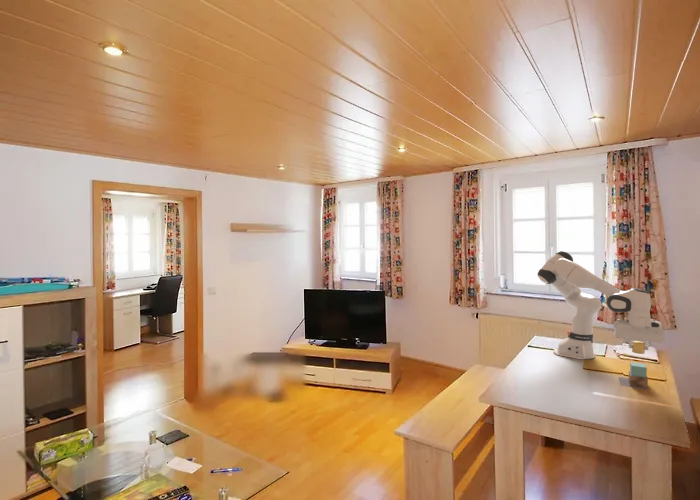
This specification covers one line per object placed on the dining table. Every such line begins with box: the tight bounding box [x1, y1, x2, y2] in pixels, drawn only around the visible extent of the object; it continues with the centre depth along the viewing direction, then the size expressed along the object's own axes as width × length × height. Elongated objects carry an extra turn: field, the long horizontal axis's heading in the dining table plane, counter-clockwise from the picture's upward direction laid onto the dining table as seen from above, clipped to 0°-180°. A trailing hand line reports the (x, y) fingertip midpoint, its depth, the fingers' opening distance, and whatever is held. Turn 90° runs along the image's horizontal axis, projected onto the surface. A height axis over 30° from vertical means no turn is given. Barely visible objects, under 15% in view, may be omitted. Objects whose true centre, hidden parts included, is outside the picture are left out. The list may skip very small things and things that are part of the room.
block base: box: [628, 370, 649, 388], centre depth 198 cm, size 7×7×5 cm
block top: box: [629, 361, 648, 378], centre depth 198 cm, size 6×6×5 cm
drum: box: [631, 340, 646, 355], centre depth 197 cm, size 5×5×5 cm
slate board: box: [618, 376, 649, 391], centre depth 200 cm, size 11×13×1 cm
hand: (638, 348), depth 197 cm, fingers closed on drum, 5 cm apart
